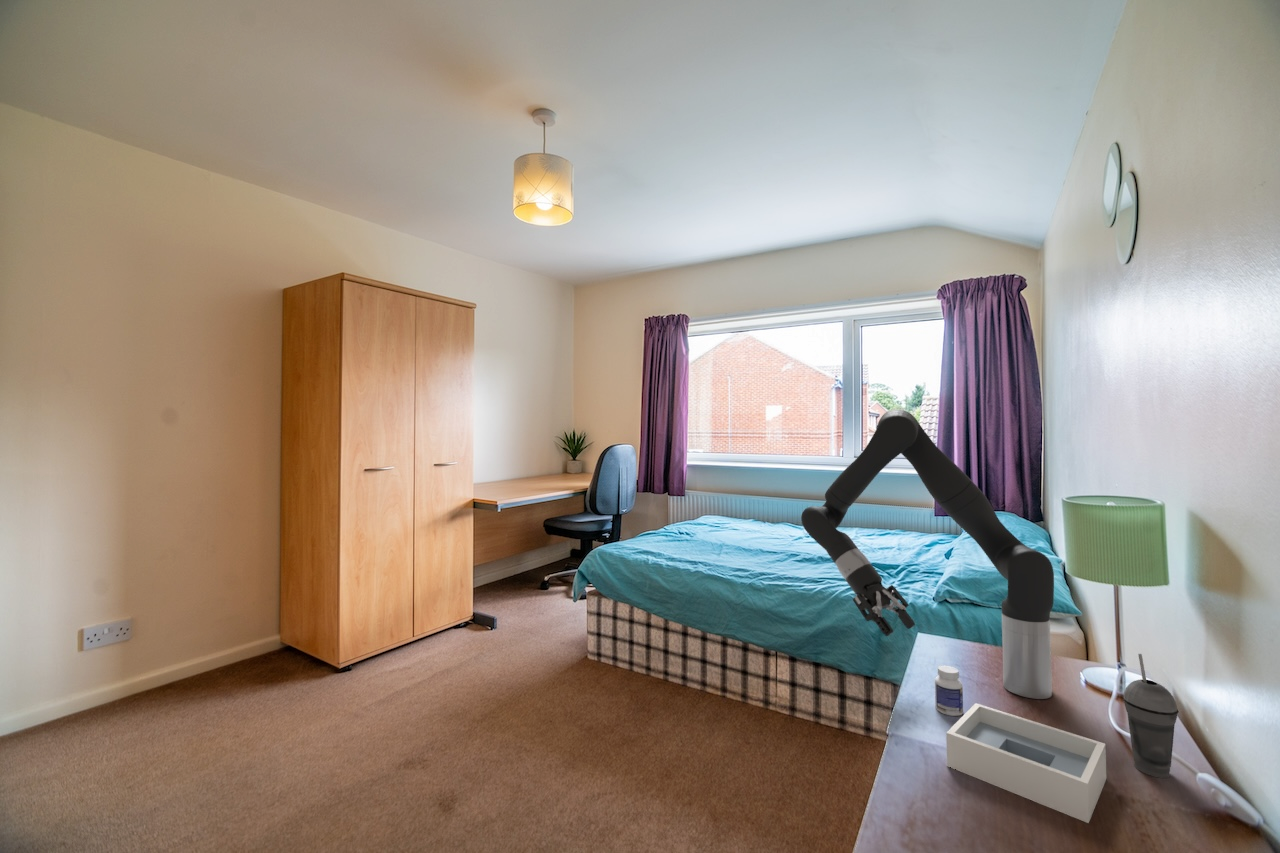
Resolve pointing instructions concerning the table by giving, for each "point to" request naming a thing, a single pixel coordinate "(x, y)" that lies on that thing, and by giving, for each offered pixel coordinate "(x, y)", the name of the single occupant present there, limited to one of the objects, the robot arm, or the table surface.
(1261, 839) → the table surface
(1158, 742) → the beverage cup
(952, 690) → the pill bottle
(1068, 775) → the bore box
